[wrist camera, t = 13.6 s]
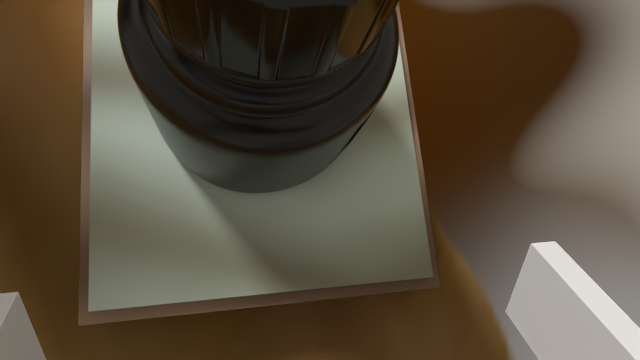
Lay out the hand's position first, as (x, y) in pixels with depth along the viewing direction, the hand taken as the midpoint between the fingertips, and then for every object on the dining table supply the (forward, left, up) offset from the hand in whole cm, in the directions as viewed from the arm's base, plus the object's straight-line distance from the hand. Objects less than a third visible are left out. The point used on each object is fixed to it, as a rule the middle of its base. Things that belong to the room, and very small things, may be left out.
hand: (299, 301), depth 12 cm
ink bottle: (-9, 0, -7) cm, 11 cm away
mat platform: (-9, 0, -10) cm, 13 cm away
